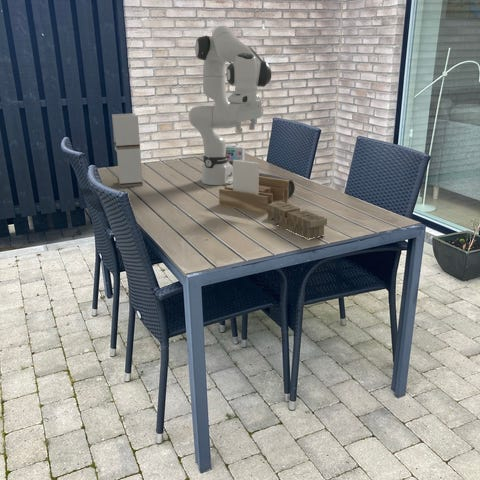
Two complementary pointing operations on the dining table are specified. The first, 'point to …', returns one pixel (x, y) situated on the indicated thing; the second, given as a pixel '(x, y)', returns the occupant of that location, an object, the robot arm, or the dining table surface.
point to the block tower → (296, 219)
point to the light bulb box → (235, 153)
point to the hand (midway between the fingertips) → (245, 131)
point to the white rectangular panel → (246, 177)
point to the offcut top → (264, 189)
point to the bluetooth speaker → (291, 183)
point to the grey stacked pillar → (127, 149)
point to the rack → (256, 196)
